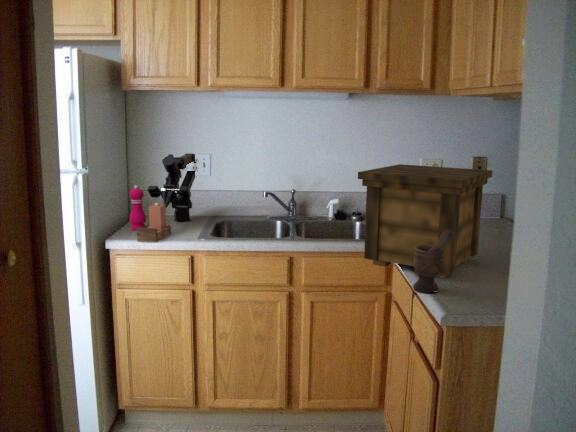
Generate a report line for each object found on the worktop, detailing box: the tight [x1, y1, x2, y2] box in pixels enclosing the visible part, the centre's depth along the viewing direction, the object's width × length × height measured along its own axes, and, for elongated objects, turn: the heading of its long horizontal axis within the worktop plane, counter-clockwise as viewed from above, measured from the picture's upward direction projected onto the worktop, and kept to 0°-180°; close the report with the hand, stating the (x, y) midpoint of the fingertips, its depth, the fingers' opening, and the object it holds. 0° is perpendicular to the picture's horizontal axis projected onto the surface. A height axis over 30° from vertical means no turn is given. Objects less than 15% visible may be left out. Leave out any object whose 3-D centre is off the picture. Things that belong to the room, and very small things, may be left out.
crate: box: [357, 164, 493, 278], centre depth 183 cm, size 35×35×33 cm
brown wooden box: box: [136, 224, 172, 243], centre depth 220 cm, size 17×8×6 cm, turn 172°
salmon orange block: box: [148, 202, 167, 230], centre depth 223 cm, size 6×5×11 cm
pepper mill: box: [129, 184, 147, 231], centre depth 233 cm, size 7×7×20 cm
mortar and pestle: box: [412, 229, 454, 294], centre depth 154 cm, size 12×9×20 cm
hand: (165, 207), depth 231 cm, fingers closed
